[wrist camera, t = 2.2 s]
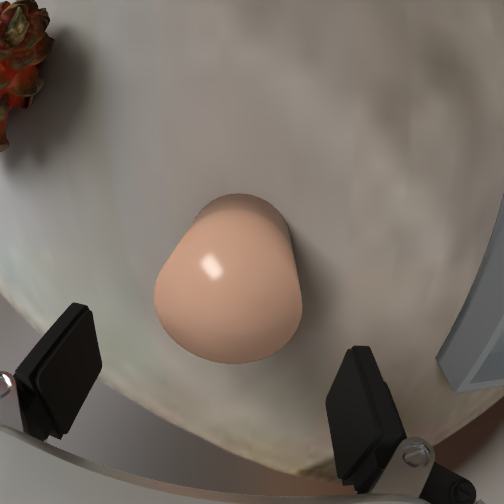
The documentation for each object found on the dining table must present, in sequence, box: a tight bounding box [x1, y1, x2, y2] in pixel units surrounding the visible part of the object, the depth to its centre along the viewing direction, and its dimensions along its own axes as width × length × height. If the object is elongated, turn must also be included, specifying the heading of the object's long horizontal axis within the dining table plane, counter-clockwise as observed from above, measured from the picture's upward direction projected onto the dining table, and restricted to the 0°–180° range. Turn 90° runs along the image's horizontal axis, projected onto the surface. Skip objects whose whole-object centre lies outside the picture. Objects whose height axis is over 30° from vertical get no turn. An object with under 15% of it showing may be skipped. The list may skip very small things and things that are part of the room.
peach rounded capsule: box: [154, 194, 302, 364], centre depth 15 cm, size 6×6×7 cm
